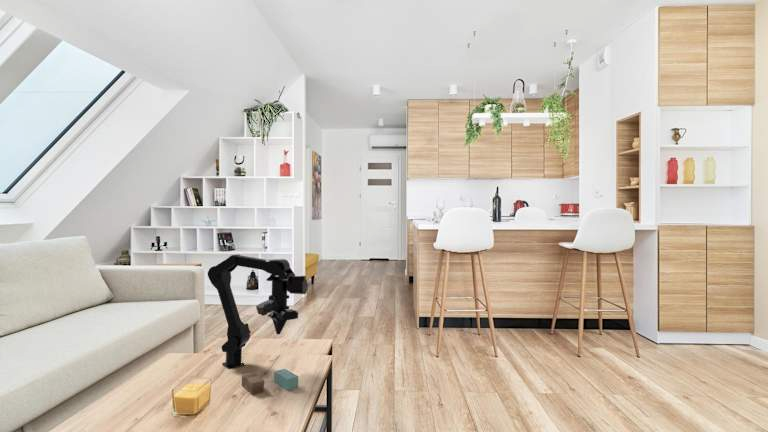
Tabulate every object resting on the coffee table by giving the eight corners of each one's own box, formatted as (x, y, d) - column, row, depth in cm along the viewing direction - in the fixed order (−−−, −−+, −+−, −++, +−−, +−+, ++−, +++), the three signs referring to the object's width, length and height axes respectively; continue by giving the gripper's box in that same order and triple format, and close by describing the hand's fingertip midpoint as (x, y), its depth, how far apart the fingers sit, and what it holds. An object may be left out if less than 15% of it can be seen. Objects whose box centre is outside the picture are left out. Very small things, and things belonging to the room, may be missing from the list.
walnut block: (242, 374, 137) (252, 383, 130) (253, 371, 139) (264, 380, 132) (241, 386, 137) (251, 395, 130) (253, 383, 139) (263, 392, 132)
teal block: (274, 371, 140) (287, 379, 134) (284, 368, 143) (298, 376, 136) (273, 382, 140) (287, 391, 134) (284, 380, 143) (297, 388, 136)
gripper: (248, 291, 155) (247, 332, 154) (271, 299, 141) (270, 343, 141) (275, 288, 162) (273, 327, 162) (299, 295, 149) (298, 338, 148)
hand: (278, 334), depth 153 cm, fingers closed
